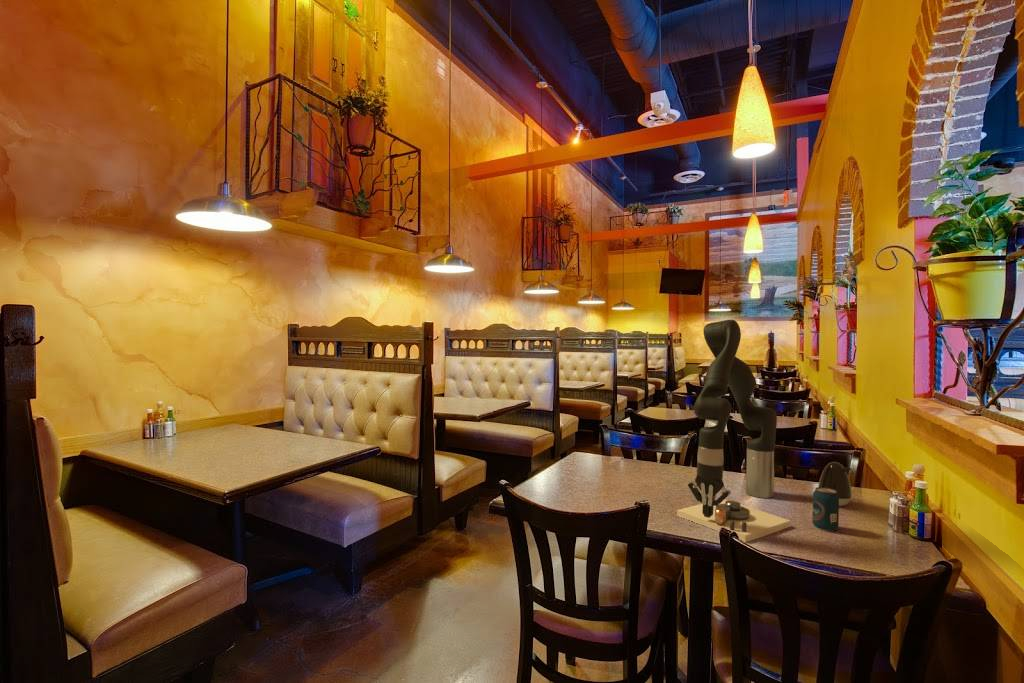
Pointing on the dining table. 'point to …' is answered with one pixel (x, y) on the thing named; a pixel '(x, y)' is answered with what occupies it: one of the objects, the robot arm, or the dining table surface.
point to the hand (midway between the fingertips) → (707, 516)
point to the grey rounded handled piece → (730, 512)
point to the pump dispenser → (837, 481)
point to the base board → (738, 522)
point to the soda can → (825, 509)
